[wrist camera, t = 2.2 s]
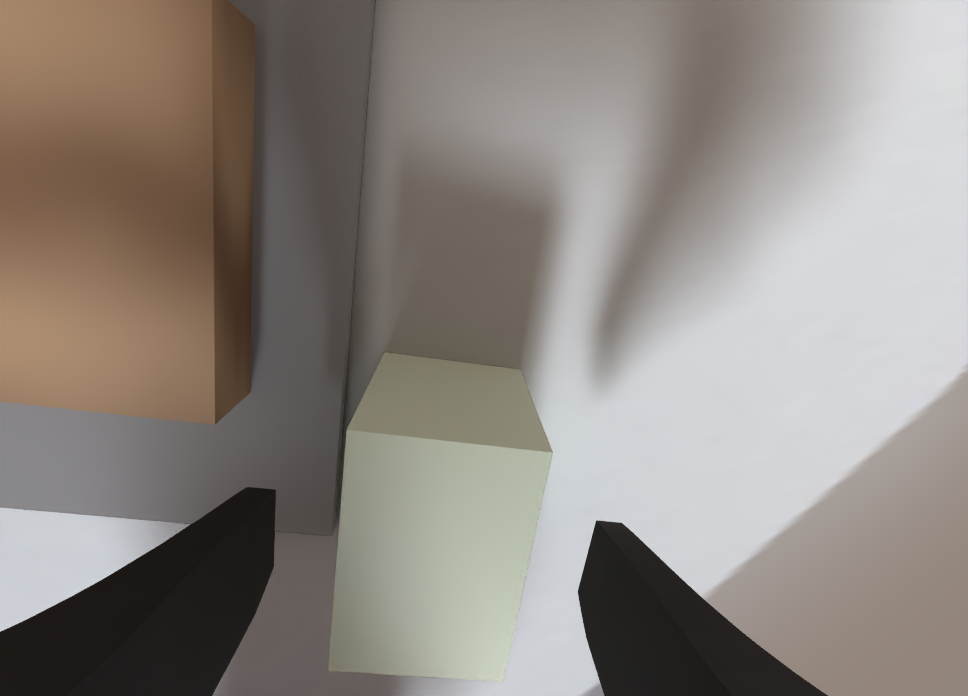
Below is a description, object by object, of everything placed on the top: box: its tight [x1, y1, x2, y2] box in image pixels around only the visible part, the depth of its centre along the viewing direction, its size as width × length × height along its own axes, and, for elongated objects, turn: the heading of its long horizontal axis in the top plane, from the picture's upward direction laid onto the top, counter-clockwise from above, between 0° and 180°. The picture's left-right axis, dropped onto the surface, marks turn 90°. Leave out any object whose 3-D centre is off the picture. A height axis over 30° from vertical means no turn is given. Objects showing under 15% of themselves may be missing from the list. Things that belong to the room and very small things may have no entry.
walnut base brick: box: [0, 0, 255, 425], centre depth 10 cm, size 9×9×2 cm
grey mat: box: [0, 0, 375, 536], centre depth 12 cm, size 18×14×1 cm
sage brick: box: [328, 352, 553, 682], centre depth 12 cm, size 6×4×5 cm, turn 171°
